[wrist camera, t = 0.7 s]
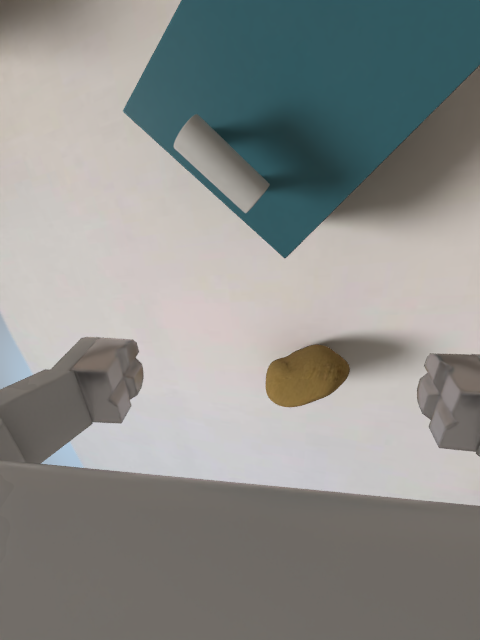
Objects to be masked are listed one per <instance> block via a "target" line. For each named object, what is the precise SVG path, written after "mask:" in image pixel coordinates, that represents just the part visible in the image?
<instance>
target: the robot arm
mask: <svg viewBox="0 0 480 640" xmlns="http://www.w3.org/2000/svg"><path fill="white" fill-rule="evenodd" d="M138 353H139V350H138V346H137V342H135V341H134V340H131V339H116V338H100V337H84V338H81V339H80V340H79V341H78V342H77V343H76V344H75V345H74V346H73V347H72V348H71V349H70V350H69V351H68V352H67V353H66V354H65V355H64V356H63V357H62V358H61V359H60V360H59V361H58V363H57V364H56V365H55V366H54V367H53V368H52V369H51V370H46V369H45V370H43V371H41V372H38V373H36V374H34V375H32V376H30V377H27V378H25V379H23V380H21V381H18V382H16V383H14V384H12V385H9V386H7V387H5V388H3V389H1V390H0V640H480V506H475V505H464V504H454V503H444V502H433V501H423V500H412V499H402V498H392V497H381V496H371V495H361V494H350V493H340V492H329V491H319V490H309V489H298V488H288V487H277V486H267V485H256V484H246V483H235V482H225V481H214V480H204V479H193V478H183V477H172V476H162V475H151V474H141V473H131V472H120V471H110V470H99V469H89V468H78V467H67V466H57V465H47V464H40V463H42V462H43V461H44V460H46V459H47V458H48V457H50V456H51V455H52V454H54V453H55V452H56V451H57V450H59V449H60V448H61V447H63V446H64V445H65V444H67V443H68V442H69V441H71V440H72V439H73V438H74V437H76V436H77V435H78V434H80V433H81V432H82V431H84V430H85V429H86V428H87V427H89V426H90V425H91V424H92V422H102V423H122V422H123V420H124V418H125V416H126V415H127V413H128V411H129V409H130V407H131V403H130V399H132V398H133V397H135V396H136V395H138V393H139V391H140V389H141V387H142V382H143V367H142V364H141V363H140V362H139V361H138V360H137V359H136V356H137V354H138ZM424 367H425V368H426V370H427V372H428V373H427V374H426V375H424V376H423V377H422V378H420V380H419V384H418V388H417V400H418V404H419V407H420V409H421V412H422V414H424V415H425V416H426V417H428V418H429V419H430V420H431V422H430V424H429V428H430V431H431V433H432V435H433V437H434V439H435V441H436V443H437V445H438V447H439V448H444V449H454V450H464V451H474V452H476V454H477V455H478V456H480V354H472V355H466V354H434V353H430V354H429V356H428V357H427V358H426V361H425V364H424Z"/></svg>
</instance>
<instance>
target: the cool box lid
mask: <svg viewBox="0 0 480 640" xmlns="http://www.w3.org/2000/svg"><path fill="white" fill-rule="evenodd" d="M479 65H480V0H182V1H181V2H180V4H179V6H178V8H177V10H176V12H175V14H174V16H173V18H172V19H171V21H170V23H169V25H168V27H167V29H166V31H165V33H164V34H163V36H162V38H161V40H160V42H159V44H158V46H157V48H156V50H155V51H154V53H153V55H152V57H151V59H150V61H149V63H148V65H147V66H146V68H145V70H144V72H143V74H142V76H141V78H140V80H139V82H138V83H137V85H136V87H135V89H134V91H133V93H132V95H131V97H130V98H129V100H128V102H127V104H126V106H125V108H124V110H123V112H124V113H125V114H126V115H127V116H128V117H130V118H131V119H132V120H133V121H134V122H135V123H136V124H137V125H138V126H139V127H141V128H142V129H143V130H144V131H145V132H146V133H147V134H148V135H149V136H150V137H152V138H153V139H154V140H155V141H156V142H157V143H158V144H159V145H160V146H161V147H163V148H164V149H165V150H166V151H167V152H168V153H169V154H170V155H171V156H173V157H174V158H175V159H176V160H177V161H178V162H179V163H180V164H181V165H182V166H184V167H185V168H186V169H187V170H188V171H189V172H190V173H191V174H192V175H193V176H195V177H196V178H197V179H198V180H199V181H200V182H201V183H202V184H203V185H204V186H206V187H207V188H208V189H209V190H210V191H211V192H212V193H213V194H214V195H215V196H217V197H218V198H219V199H220V200H221V201H222V202H223V203H224V204H225V205H226V206H228V207H229V208H230V209H231V210H232V211H233V212H234V213H235V214H236V215H237V216H239V217H240V218H241V219H242V220H243V221H244V222H245V223H246V224H247V225H248V226H250V227H251V228H252V229H253V230H254V231H255V232H256V233H257V234H258V235H259V236H261V237H262V238H263V239H264V240H265V241H266V242H267V243H268V244H269V245H271V246H272V247H273V248H274V249H275V250H276V251H277V252H278V253H279V254H280V255H282V256H283V257H284V258H286V257H287V256H288V255H289V254H290V253H291V252H292V251H293V250H294V249H295V248H296V247H297V246H298V245H299V244H300V243H301V242H302V241H303V240H304V239H305V238H306V237H307V236H308V235H309V234H310V233H311V232H312V231H314V230H315V229H316V228H317V227H318V226H319V225H320V224H321V223H322V222H323V221H324V220H325V219H326V218H327V217H328V216H329V215H330V214H331V213H332V212H333V211H334V210H335V209H336V208H337V207H338V206H339V205H340V204H341V203H342V202H343V201H344V200H345V199H346V198H347V197H348V196H349V195H350V194H351V193H352V192H353V191H354V190H355V189H356V188H357V187H358V186H359V185H360V184H361V183H362V182H363V181H364V180H365V179H366V178H367V177H368V176H369V175H370V174H371V173H372V172H373V171H374V170H375V169H376V168H377V167H378V166H379V165H380V164H381V163H382V162H383V161H384V160H385V159H386V158H387V157H388V156H389V155H390V154H391V153H392V152H393V151H394V150H395V149H396V148H397V147H398V146H399V145H400V144H401V143H402V142H403V141H404V140H405V139H406V138H407V137H408V136H409V135H410V134H411V133H412V132H413V131H414V130H415V129H416V128H417V127H418V126H419V125H420V124H421V123H422V122H423V121H424V120H425V119H426V118H427V117H428V116H429V115H430V114H431V113H432V112H433V111H434V110H435V109H436V108H437V107H438V106H439V105H440V104H441V103H442V102H443V101H444V100H445V99H446V98H447V97H448V96H449V95H450V94H451V93H452V92H453V91H454V90H455V89H456V88H457V87H458V86H459V85H460V84H461V83H462V82H463V81H464V80H465V79H466V78H467V77H468V76H469V75H470V74H471V73H472V72H473V71H474V70H475V69H476V68H477V67H478V66H479Z"/></svg>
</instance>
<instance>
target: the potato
mask: <svg viewBox="0 0 480 640" xmlns="http://www.w3.org/2000/svg"><path fill="white" fill-rule="evenodd" d="M349 371H350V367H349V364H348V363H347V362H346V361H345V360H344V359H343V358H342V357H341V356H340V355H338V354H337V353H335V352H334V351H333V350H332V349H330V348H328V347H326V346H324V345H311V346H308V347H305V348H303V349H300V350H298V351H295V352H293V353H292V354H290V355H289V356H287V357H284V358H280V359H277V360H275V361H273V362H272V363H271V364H270V366H269V368H268V370H267V374H266V392H267V395H268V397H269V398H270V400H271V401H273V402H274V403H275V404H277V405H280V406H284V407H297V406H302V405H305V404H308V403H310V402H313V401H316V400H319V399H321V398H324V397H326V396H328V395H330V394H331V393H333V392H334V391H335V390H336V389H337V388H338V387H339V386H340V385H341V384H342V383H343V382H344V381H345V380H346V378H347V377H348V374H349Z"/></svg>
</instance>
